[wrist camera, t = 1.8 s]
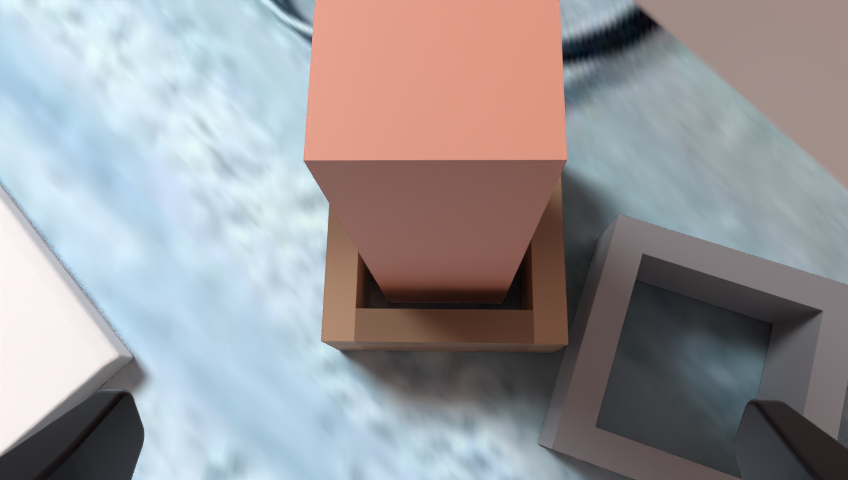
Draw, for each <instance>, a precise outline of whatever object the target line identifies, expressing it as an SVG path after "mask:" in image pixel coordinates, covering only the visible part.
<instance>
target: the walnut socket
mask: <svg viewBox="0 0 848 480" xmlns="http://www.w3.org/2000/svg"><path fill="white" fill-rule="evenodd" d="M521 270H522V310H472V309H369V298H370V273H371V272H370V270H369V268H368V267H367V265H366V263H365V262H364V260H363V258H362V257H361V255H360V253H359V252H358V250H357V248H356V247H355V245H354V243H353V242H352V240H351V238H350V237H349V235H348V234H347V232H346V230H345V229H344V227H343V225H342V224H341V222H340V220H339V219H338V217H337V215H336V214H335V212H334V210H333V209H332V207H331V205H330V204H329V218H328V235H327V252H326V268H325V285H324V302H323V318H322V335H321V341H322V342H324V343H326V344H328V345H330V346H332V347H334V348H336V349H338V350H363V351H441V352H519V353H554V352H555V351H557V350H559V349H561V348H562V347H564V346H566V345H568V322H567V299H566V277H565V254H564V231H563V209H562V186H561V174H560V177H559V179H558V181H557V183H556V185H555V188H554V190H553V192H552V194H551V197H550V199H549V201H548V203H547V205H546V208H545V210H544V212H543V214H542V216H541V219H540V221H539V223H538V225H537V228H536V230H535V232H534V234H533V236H532V239H531V241H530V243H529V245H528V247H527V250H526V252H525V254H524V256H523V259H522V261H521Z"/></svg>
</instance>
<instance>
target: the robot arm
mask: <svg viewBox="0 0 848 480" xmlns="http://www.w3.org/2000/svg"><path fill="white" fill-rule="evenodd" d="M143 442H144V428H143V424H142V421H141V419H140V416H139V413H138V410H137V407H136V404H135V401H134V398H133V396H132V394H131V393H130V392H129V391H128V390H124V389H103V390H99V391H97V392H95V393H94V394H92V395H91V396H89V397H88V398H86V399H85V400H83V401H82V402H80V403H79V404H77V405H76V406H74V407H73V408H71V409H70V410H68V411H67V412H65V413H64V414H62V415H61V416H60V417H58V418H57V419H55V420H54V421H52V422H51V423H49V424H48V425H46V426H45V427H43V428H42V429H40V430H39V431H37V432H36V433H34V434H33V435H31V436H30V437H28V438H27V439H25V440H24V441H22V442H21V443H19V444H18V445H16V446H15V447H13V448H12V449H11V450H9V451H8V452H6V453H5V454H3V455H2V456H0V480H131V479H132V476H133V473H134V470H135V467H136V464H137V461H138V458H139V455H140V452H141V449H142V446H143ZM735 455H736V459H737V462H738V466H739V469H740V473H741V476H742V479H743V480H848V448H847V447H845V446H844V445H842V444H841V443H840V442H838V441H837V440H836V439H834V438H833V437H832V436H830V435H829V434H827V433H826V432H825V431H823V430H822V429H821V428H819V427H818V426H816V425H815V424H814V423H812V422H811V421H810V420H808V419H807V418H805V417H804V416H803V415H801V414H800V413H799V412H797V411H796V410H795V409H793V408H792V407H790V406H789V405H788V404H786V403H785V402H783V401H781V400H776V399H753V400H750V401H749V402H748V403H747V405H746V407H745V410H744V413H743V416H742V419H741V422H740V425H739V429H738V432H737V435H736V438H735Z"/></svg>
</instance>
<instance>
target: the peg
mask: <svg viewBox="0 0 848 480" xmlns="http://www.w3.org/2000/svg"><path fill="white" fill-rule="evenodd" d="M566 161H567V148H566V127H565V106H564V84H563V63H562V42H561V21H560V0H315V10H314V24H313V37H312V51H311V65H310V78H309V92H308V106H307V119H306V133H305V147H304V162H305V164H306V165H307V167H308V169H309V170H310V172H311V174H312V175H313V177H314V179H315V180H316V182H317V184H318V185H319V187H320V189H321V190H322V192H323V194H324V195H325V197H326V199H327V200H328V202H329V204H330V205H331V207H332V209H333V210H334V212H335V214H336V215H337V217H338V219H339V220H340V222H341V224H342V225H343V227H344V229H345V230H346V232H347V234H348V235H349V237H350V238H351V240H352V242H353V243H354V245H355V247H356V248H357V250H358V252H359V253H360V255H361V257H362V258H363V260H364V262H365V263H366V265H367V267H368V268H369V270H370V272H371V273H372V275H373V277H374V278H375V280H376V282H377V283H378V285H379V287H380V288H381V290H382V292H383V293H384V295H385V297H386V298H387V300H388V302H395V303H503V301H504V298H505V296H506V294H507V292H508V290H509V287H510V285H511V283H512V281H513V279H514V276H515V274H516V272H517V270H518V267H519V265H520V263H521V261H522V259H523V256H524V254H525V252H526V250H527V247H528V245H529V243H530V241H531V239H532V236H533V234H534V232H535V230H536V228H537V225H538V223H539V221H540V219H541V216H542V214H543V212H544V210H545V208H546V205H547V203H548V201H549V199H550V197H551V194H552V192H553V190H554V188H555V185H556V183H557V181H558V179H559V177H560V174H561V172H562V170H563V168H564V165H565V163H566Z"/></svg>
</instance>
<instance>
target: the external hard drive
mask: <svg viewBox="0 0 848 480" xmlns="http://www.w3.org/2000/svg"><path fill="white" fill-rule="evenodd" d="M132 359H133V355H132V353H131V352H130V351H129V349H128V348H127V347H126V345H125V344H124V343H123V342H122V340H121V339H120V338H119V337H118V335H117V334H116V333H115V331H114V330H113V329H112V328H111V326H110V325H109V324H108V322H107V321H106V320H105V318H104V317H103V316H102V314H101V313H100V312H99V311H98V309H97V308H96V307H95V306H94V304H93V303H92V302H91V300H90V299H89V298H88V297H87V295H86V294H85V293H84V291H83V290H82V289H81V287H80V286H79V285H78V284H77V282H76V281H75V280H74V279H73V277H72V276H71V275H70V273H69V272H68V271H67V269H66V268H65V267H64V265H63V264H62V263H61V262H60V260H59V259H58V258H57V256H56V255H55V254H54V253H53V251H52V250H51V249H50V247H49V246H48V245H47V243H46V242H45V241H44V239H43V238H42V237H41V236H40V235H39V233H38V232H37V230H36V229H35V228H34V227H33V225H32V224H31V222H30V221H29V220H28V219H27V218H26V216H25V215H24V214H23V212H22V211H21V210H20V208H19V207H18V206H17V205H16V203H15V202H14V201H13V199H12V198H11V197H10V195H9V194H8V193H7V191H6V190H5V189H4V188H3V186H2V185H1V184H0V456H2V455H3V454H5V453H6V452H8V451H9V450H11V449H12V448H13V447H15V446H16V445H18V444H19V443H21V442H22V441H24V440H25V439H27V438H28V437H30V436H31V435H33V434H34V433H36V432H37V431H39V430H40V429H42V428H43V427H45V426H46V425H48V424H49V423H51V422H52V421H54V420H55V419H57V418H58V417H60V416H61V415H62V414H64V413H65V412H67V411H68V410H70V409H71V408H73V407H74V406H76V405H77V404H79V403H80V402H82V401H83V400H85V399H86V398H88V397H89V396H90V395H91V394H93V393H94V392H95V391H96V390H97V389H98V388H100V387H101V386H102V385H103V384H104V383H105V382H107V381H108V380H109V379H110V378H111V377H112V376H114V375H115V374H116V373H117V372H118V371H119V370H121V369H122V368H123V367H124V366H125V365H127V364H128V363H129V362H130V361H131V360H132Z"/></svg>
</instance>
